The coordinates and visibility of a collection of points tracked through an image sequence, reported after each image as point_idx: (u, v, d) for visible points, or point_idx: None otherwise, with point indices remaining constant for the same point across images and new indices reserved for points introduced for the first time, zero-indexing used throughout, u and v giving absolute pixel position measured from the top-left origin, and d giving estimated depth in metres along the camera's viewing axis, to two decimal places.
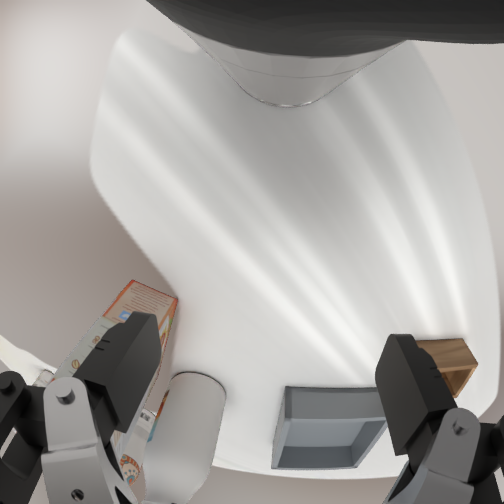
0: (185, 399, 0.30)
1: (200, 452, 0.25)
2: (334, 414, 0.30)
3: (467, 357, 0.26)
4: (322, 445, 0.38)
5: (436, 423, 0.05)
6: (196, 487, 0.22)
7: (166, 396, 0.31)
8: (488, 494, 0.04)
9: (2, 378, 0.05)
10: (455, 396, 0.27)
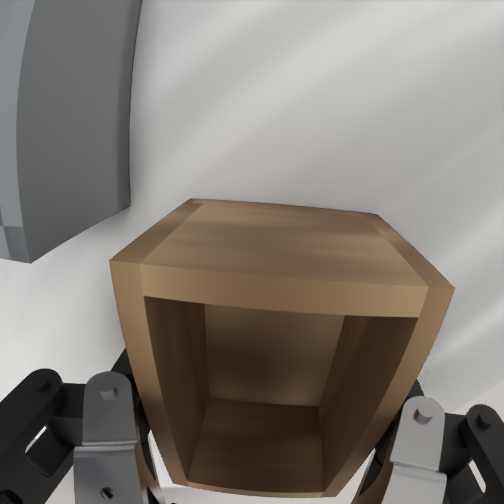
0: None
1: None
2: None
3: None
4: None
5: (399, 410, 0.06)
6: None
7: None
8: (465, 486, 0.04)
9: (38, 375, 0.05)
10: (173, 479, 0.08)
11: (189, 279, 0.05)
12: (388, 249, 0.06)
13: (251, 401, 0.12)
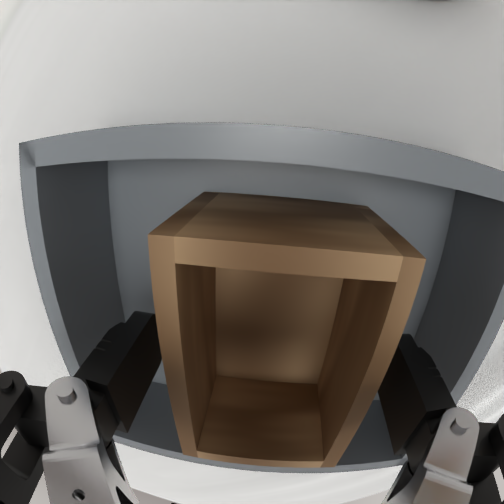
0: None
1: None
2: None
3: None
4: (132, 308, 0.13)
5: (435, 422, 0.05)
6: None
7: None
8: (487, 494, 0.04)
9: (3, 378, 0.05)
10: (183, 451, 0.09)
11: (214, 248, 0.06)
12: (373, 230, 0.07)
13: (255, 379, 0.13)
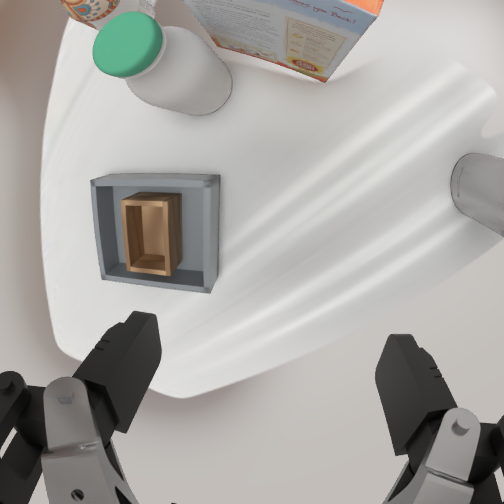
0: (225, 77, 0.27)
1: (196, 95, 0.22)
2: (211, 230, 0.34)
3: (173, 262, 0.35)
4: (119, 230, 0.38)
5: (436, 423, 0.05)
6: (157, 91, 0.19)
7: None
8: (488, 494, 0.04)
9: (2, 378, 0.05)
10: (127, 269, 0.35)
11: (131, 202, 0.31)
12: (166, 198, 0.33)
13: (156, 254, 0.39)
